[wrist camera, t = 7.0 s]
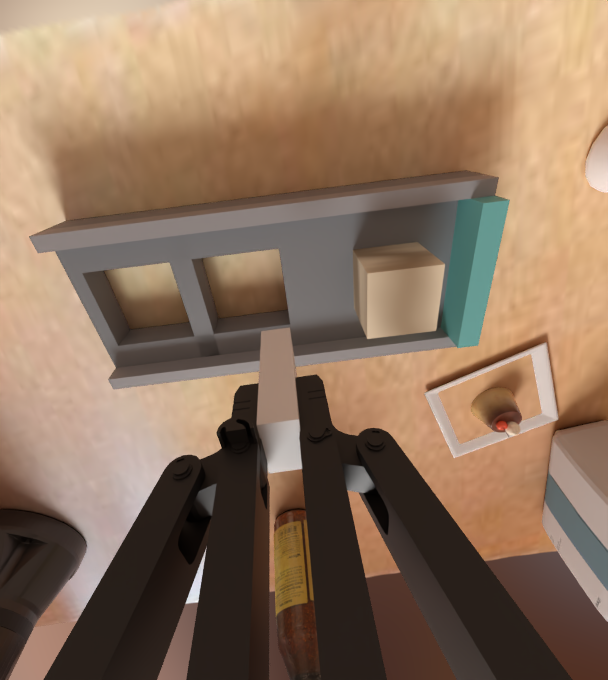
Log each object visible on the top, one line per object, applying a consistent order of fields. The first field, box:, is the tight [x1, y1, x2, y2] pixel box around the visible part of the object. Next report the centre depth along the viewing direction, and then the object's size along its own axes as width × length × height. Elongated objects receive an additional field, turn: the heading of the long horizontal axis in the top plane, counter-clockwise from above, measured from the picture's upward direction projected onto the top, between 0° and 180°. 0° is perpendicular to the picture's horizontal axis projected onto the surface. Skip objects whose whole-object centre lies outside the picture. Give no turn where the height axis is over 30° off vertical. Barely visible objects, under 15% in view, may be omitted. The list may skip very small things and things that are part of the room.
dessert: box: [425, 342, 559, 458], centre depth 34 cm, size 12×12×5 cm
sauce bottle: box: [274, 509, 321, 680], centre depth 37 cm, size 7×6×20 cm
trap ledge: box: [29, 171, 510, 389], centre depth 24 cm, size 28×12×6 cm, turn 96°
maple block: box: [353, 242, 445, 339], centre depth 22 cm, size 4×4×4 cm
